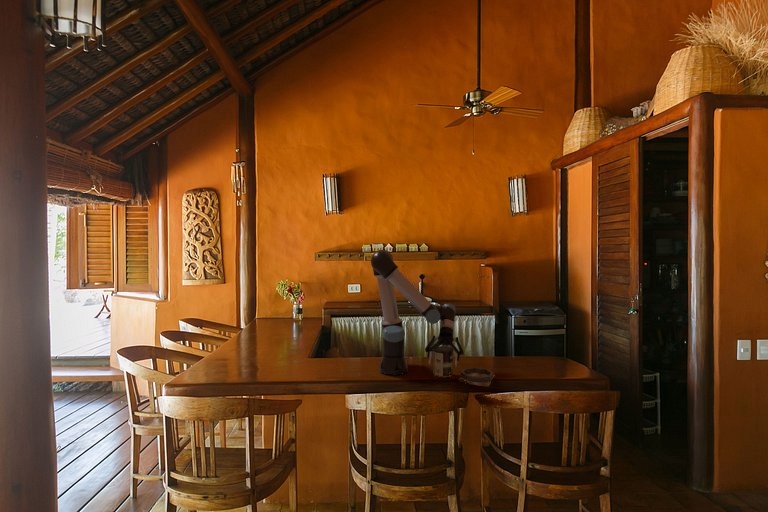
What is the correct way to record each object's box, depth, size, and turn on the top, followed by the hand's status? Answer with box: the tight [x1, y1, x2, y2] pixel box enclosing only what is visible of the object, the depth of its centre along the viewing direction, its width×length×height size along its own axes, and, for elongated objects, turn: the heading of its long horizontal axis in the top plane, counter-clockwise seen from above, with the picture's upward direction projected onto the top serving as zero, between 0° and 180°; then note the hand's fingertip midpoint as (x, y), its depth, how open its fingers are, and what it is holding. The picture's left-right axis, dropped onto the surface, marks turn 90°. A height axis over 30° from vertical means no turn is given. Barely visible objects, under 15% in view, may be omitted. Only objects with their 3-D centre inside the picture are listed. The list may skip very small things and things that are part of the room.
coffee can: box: [433, 345, 454, 376], centre depth 248 cm, size 10×10×14 cm
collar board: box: [459, 366, 496, 388], centre depth 241 cm, size 15×15×4 cm
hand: (442, 364), depth 246 cm, fingers open, 13 cm apart
